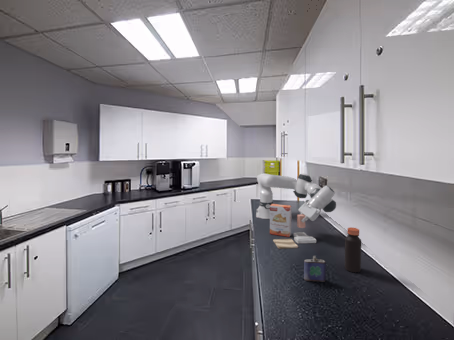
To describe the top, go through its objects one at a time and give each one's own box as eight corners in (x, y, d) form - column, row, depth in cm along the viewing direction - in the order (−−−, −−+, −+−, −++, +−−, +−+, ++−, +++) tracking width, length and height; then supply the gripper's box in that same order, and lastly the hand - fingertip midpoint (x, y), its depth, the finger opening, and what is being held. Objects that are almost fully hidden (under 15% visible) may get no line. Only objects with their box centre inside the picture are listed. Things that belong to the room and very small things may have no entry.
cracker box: (269, 234, 154) (269, 205, 153) (271, 231, 159) (271, 203, 158) (289, 237, 148) (289, 207, 146) (291, 234, 153) (291, 205, 151)
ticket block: (297, 226, 149) (297, 214, 148) (302, 225, 149) (302, 214, 148) (299, 228, 145) (299, 216, 144) (305, 227, 145) (305, 216, 144)
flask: (304, 281, 97) (304, 257, 97) (303, 277, 100) (303, 254, 99) (326, 282, 96) (326, 258, 95) (324, 278, 99) (324, 255, 98)
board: (273, 240, 143) (273, 239, 142) (291, 240, 143) (291, 238, 143) (278, 248, 131) (278, 247, 131) (298, 247, 131) (298, 246, 131)
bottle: (353, 265, 110) (354, 226, 108) (364, 272, 103) (365, 231, 102) (341, 266, 109) (342, 227, 108) (351, 273, 102) (352, 232, 101)
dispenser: (290, 235, 151) (290, 232, 151) (307, 235, 152) (307, 231, 151) (297, 243, 137) (297, 240, 137) (316, 242, 138) (316, 239, 138)
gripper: (325, 213, 136) (310, 228, 137) (311, 205, 157) (297, 219, 157) (318, 206, 136) (303, 222, 136) (305, 199, 156) (291, 213, 156)
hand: (300, 220), depth 147 cm, fingers closed on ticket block, 4 cm apart
